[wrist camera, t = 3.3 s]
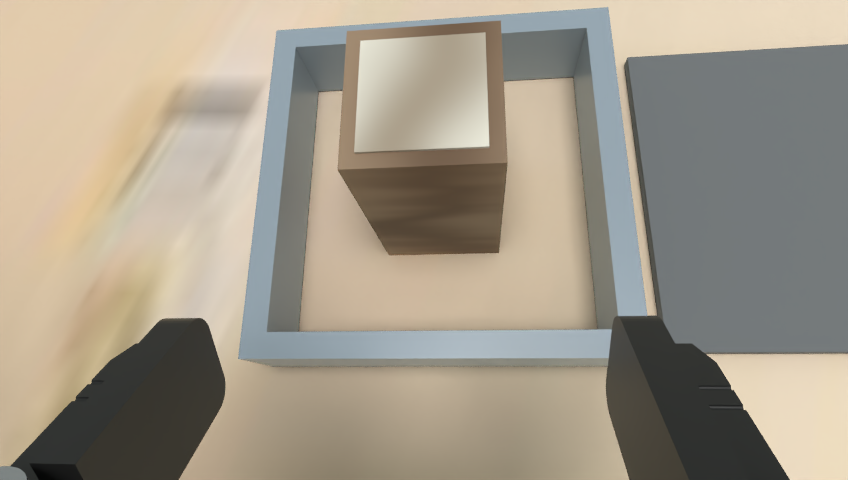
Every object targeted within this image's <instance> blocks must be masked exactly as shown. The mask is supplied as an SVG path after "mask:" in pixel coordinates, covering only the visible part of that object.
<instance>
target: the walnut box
mask: <svg viewBox="0 0 848 480" xmlns="http://www.w3.org/2000/svg"><path fill="white" fill-rule="evenodd" d="M338 171H339V173H340V174H341V176H342V178H343V179H344V181H345V183H346V184H347V186H348V188H349V189H350V191H351V193H352V194H353V196H354V198H355V199H356V201H357V203H358V204H359V206H360V208H361V209H362V211H363V213H364V214H365V216H366V218H367V219H368V221H369V223H370V224H371V226H372V228H373V229H374V231H375V233H376V234H377V236H378V238H379V239H380V241H381V242H382V244H383V246H384V247H385V249H386V251H387V252H388V254H389V255H424V254H468V253H499V244H500V234H501V224H502V214H503V203H504V193H505V183H506V172H507V143H506V121H505V99H504V78H503V56H502V34H501V20H500V21H486V22H471V23H457V24H442V25H428V26H414V27H399V28H385V29H370V30H356V31H347V36H346V51H345V66H344V81H343V96H342V111H341V126H340V141H339V156H338Z"/></svg>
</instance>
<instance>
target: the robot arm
mask: <svg viewBox="0 0 848 480" xmlns="http://www.w3.org/2000/svg"><path fill="white" fill-rule="evenodd" d="M224 395H225V378H224V374H223V371H222V367H221V364H220V361H219V358H218V355H217V351H216V348H215V345H214V342H213V339H212V335H211V332H210V329H209V326H208V324H207V323H206V321H205V320H203V319H201V318H169V319H162V320H160V321H159V322H158V323H157V324H156V325H155V326H154V327H153V328H152V329H151V330H150V331H149V333H148V334H147V335H146V336H145V337H144V338H143V339H142V340H141V341H140V342H139V344H135V345H133V346H132V347H130V348H129V349H127V350H126V351H124V352H123V353H121V354H120V355H118V356H116V357H115V358H113V359H112V360H110V361H109V362H108V364H107V365H106V366H105V367H104V368H103V369H102V370H101V371H100V372H99V373H98V374H97V375H96V376H95V377H94V378H93V379H92V383H91V384H88V385H87V386H86V387H85V388H84V389H83V390H82V391H81V392H80V393H79V394H78V395H77V396H76V400H75V401H72V402H71V403H70V404H69V405H68V406H67V407H66V408H65V409H64V410H63V411H62V412H61V413H60V414H59V415H58V416H57V417H56V418H55V420H54V421H53V422H52V423H51V424H50V425H49V426H48V427H47V428H46V429H45V430H44V431H43V432H42V433H41V434H40V435H39V436H38V437H37V439H36V440H35V441H34V442H33V443H32V444H31V445H30V446H29V447H28V448H27V449H26V450H25V451H24V452H23V453H22V454H21V455H20V456H19V458H18V459H17V460H16V461H15V462H14V463H13V464H12V465H11V466H2V467H0V480H179V478H180V476H181V475H182V473H183V471H184V469H185V468H186V466H187V464H188V463H189V461H190V459H191V457H192V456H193V454H194V452H195V451H196V449H197V447H198V446H199V444H200V442H201V440H202V439H203V437H204V435H205V434H206V432H207V430H208V429H209V427H210V425H211V423H212V422H213V420H214V418H215V417H216V415H217V413H218V412H219V410H220V408H221V406H222V403H223V400H224ZM606 396H607V404H608V410H609V414H610V418H611V421H612V424H613V427H614V430H615V434H616V437H617V440H618V443H619V447H620V450H621V453H622V456H623V460H624V463H625V466H626V469H627V473H628V476H629V479H630V480H790V479H789V478H788V476H787V475H786V473H785V471H784V470H783V468H782V467H781V465H780V463H779V462H778V460H777V459H776V457H775V455H774V454H773V452H772V451H771V449H770V447H769V446H768V444H767V443H766V441H765V440H764V438H763V436H762V435H761V433H760V432H759V430H758V428H757V427H756V425H755V424H754V422H753V420H752V419H751V417H750V416H749V414H748V412H747V411H746V410H743V404H742V403H741V401H740V400H739V398H738V396H737V395H736V393H735V392H734V390H731V385H730V384H729V382H728V380H727V379H726V377H725V376H724V374H723V372H722V371H721V369H720V368H719V366H718V364H717V363H716V362H715V361H714V360H712V359H711V358H710V357H709V356H707V355H706V354H705V353H703V352H702V351H701V350H700V349H698V348H697V347H696V346H695V345H693V344H692V343H675V342H674V341H673V339H672V337H671V335H670V333H669V331H668V330H667V328H666V326H665V324H664V322H663V320H662V319H661V318H660V317H659V316H616V317H615V318H614V320H613V324H612V332H611V341H610V350H609V359H608V368H607V377H606Z"/></svg>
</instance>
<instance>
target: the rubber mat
mask: <svg viewBox="0 0 848 480" xmlns="http://www.w3.org/2000/svg"><path fill="white" fill-rule="evenodd" d="M624 66H625V73H626V81H627V88H628V96H629V103H630V111H631V119H632V126H633V134H634V141H635V149H636V156H637V164H638V171H639V179H640V186H641V194H642V201H643V209H644V216H645V224H646V231H647V239H648V246H649V254H650V261H651V269H652V276H653V284H654V291H655V299H656V306H657V314H658V316H659V317H660V318H661V319H662V320H663V322H664V324H665V326H666V328H667V330H668V331H669V333H670V335H671V337H672V339H673V341H674V342H675V343H692V344H693V345H695V346H696V347H697V348H698V349H700V350H701V351H702V352H703V353H705V354H787V353H848V44H845V45H828V46H812V47H795V48H778V49H762V50H745V51H728V52H712V53H695V54H678V55H662V56H645V57H628V58H627V60H626V63H625V65H624Z"/></svg>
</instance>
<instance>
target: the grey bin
mask: <svg viewBox="0 0 848 480" xmlns="http://www.w3.org/2000/svg"><path fill="white" fill-rule="evenodd" d="M500 20H501V34H502V56H503V78H504V81H511V80H528V79H546V78H563V77H573V78H574V88H575V98H576V109H577V119H578V130H579V140H580V150H581V161H582V171H583V182H584V192H585V203H586V213H587V223H588V234H589V244H590V255H591V265H592V276H593V286H594V296H595V307H596V317H597V328H598V329H595V330H464V331H333V332H298V331H299V319H300V307H301V295H302V283H303V271H304V259H305V247H306V235H307V223H308V211H309V199H310V187H311V175H312V163H313V151H314V139H315V126H316V114H317V102H318V91H335V90H343V81H344V66H345V51H346V36H347V31H356V30H370V29H385V28H399V27H414V26H428V25H442V24H457V23H471V22H486V21H500ZM616 316H647V310H646V302H645V294H644V286H643V278H642V270H641V262H640V254H639V247H638V239H637V231H636V223H635V215H634V207H633V199H632V191H631V183H630V176H629V168H628V160H627V152H626V144H625V136H624V128H623V120H622V112H621V104H620V97H619V89H618V81H617V73H616V65H615V57H614V49H613V41H612V33H611V26H610V18H609V10H608V7H606V8H592V9H578V10H563V11H549V12H535V13H521V14H506V15H492V16H478V17H463V18H449V19H435V20H421V21H406V22H392V23H378V24H363V25H349V26H335V27H321V28H306V29H292V30H278V31H277V32H276V41H275V49H274V58H273V67H272V75H271V84H270V92H269V101H268V109H267V118H266V126H265V135H264V143H263V152H262V160H261V169H260V177H259V186H258V194H257V203H256V211H255V220H254V229H253V237H252V246H251V254H250V263H249V271H248V280H247V288H246V297H245V305H244V314H243V322H242V331H241V339H240V348H239V356H238V359H241V360H246V361H250V362H255V363H259V364H264V365H269V366H273V367H404V366H608V359H609V350H610V341H611V332H612V324H613V320H614V318H615V317H616Z"/></svg>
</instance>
